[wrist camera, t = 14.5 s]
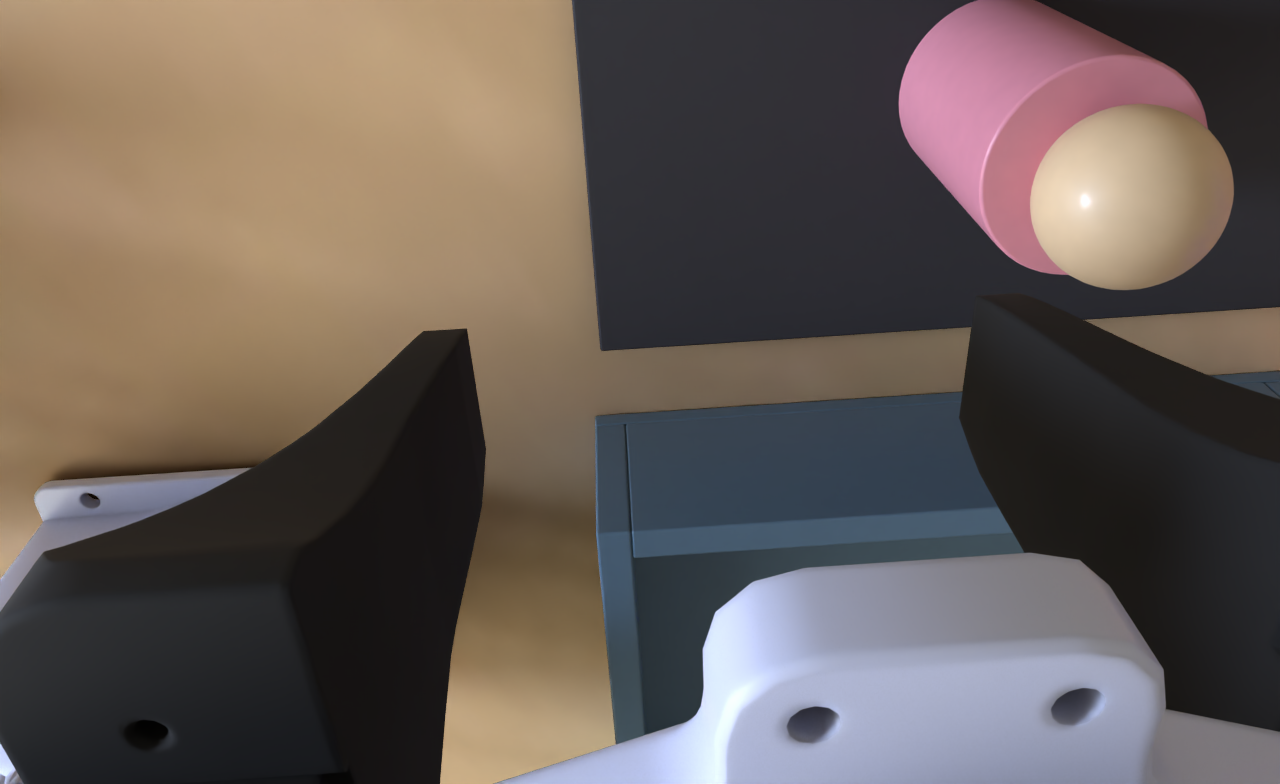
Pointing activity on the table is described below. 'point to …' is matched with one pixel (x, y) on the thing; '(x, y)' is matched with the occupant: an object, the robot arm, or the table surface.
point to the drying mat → (861, 169)
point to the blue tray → (770, 518)
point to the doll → (1067, 144)
